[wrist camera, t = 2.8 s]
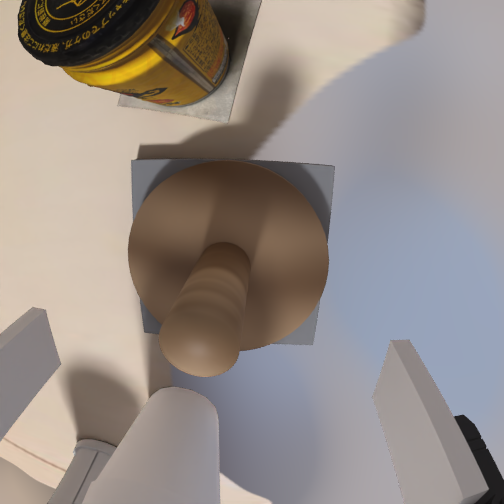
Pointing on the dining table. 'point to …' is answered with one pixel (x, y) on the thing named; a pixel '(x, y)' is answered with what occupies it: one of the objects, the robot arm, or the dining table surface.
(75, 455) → the cup
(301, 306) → the lid
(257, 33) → the dining table surface
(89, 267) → the dining table surface
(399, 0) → the dining table surface
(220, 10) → the condiment
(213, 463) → the foam cup
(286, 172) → the mat
